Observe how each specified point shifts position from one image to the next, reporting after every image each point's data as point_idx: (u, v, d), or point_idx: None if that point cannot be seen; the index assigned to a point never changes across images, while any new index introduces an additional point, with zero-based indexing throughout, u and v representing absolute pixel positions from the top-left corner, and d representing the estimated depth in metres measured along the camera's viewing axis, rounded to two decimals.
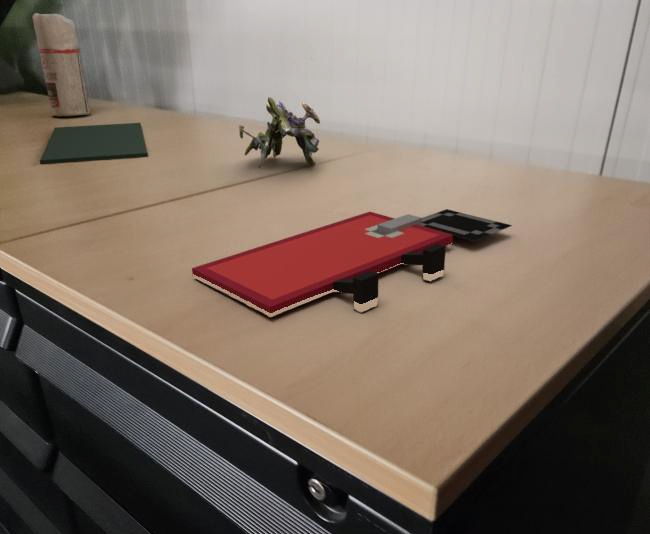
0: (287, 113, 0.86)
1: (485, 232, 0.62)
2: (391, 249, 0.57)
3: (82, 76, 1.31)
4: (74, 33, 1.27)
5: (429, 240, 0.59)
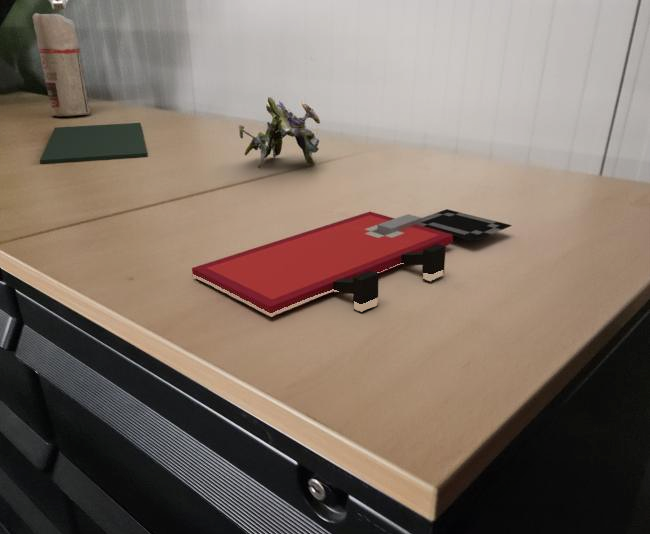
0: (287, 113, 0.86)
1: (485, 232, 0.62)
2: (391, 249, 0.57)
3: (82, 76, 1.31)
4: (74, 33, 1.27)
5: (429, 240, 0.59)
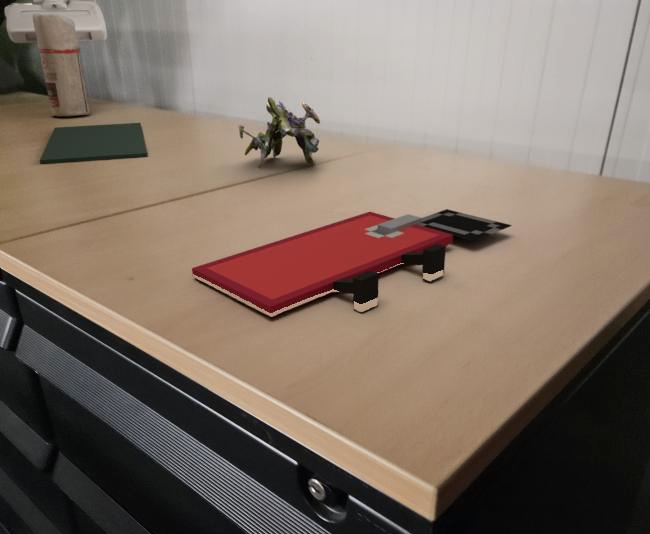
0: (287, 113, 0.86)
1: (485, 232, 0.62)
2: (391, 249, 0.57)
3: (82, 76, 1.31)
4: (74, 33, 1.27)
5: (429, 240, 0.59)
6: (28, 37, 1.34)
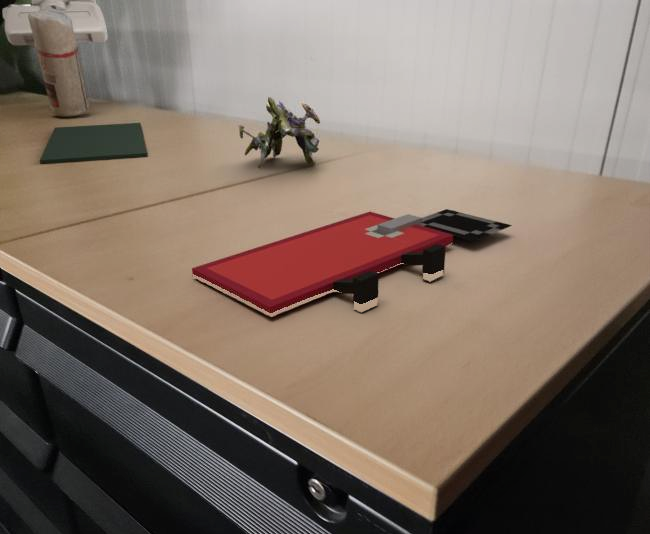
0: (287, 113, 0.86)
1: (485, 232, 0.62)
2: (391, 249, 0.57)
3: (81, 75, 1.28)
4: (72, 34, 1.22)
5: (429, 240, 0.59)
6: (27, 39, 1.30)
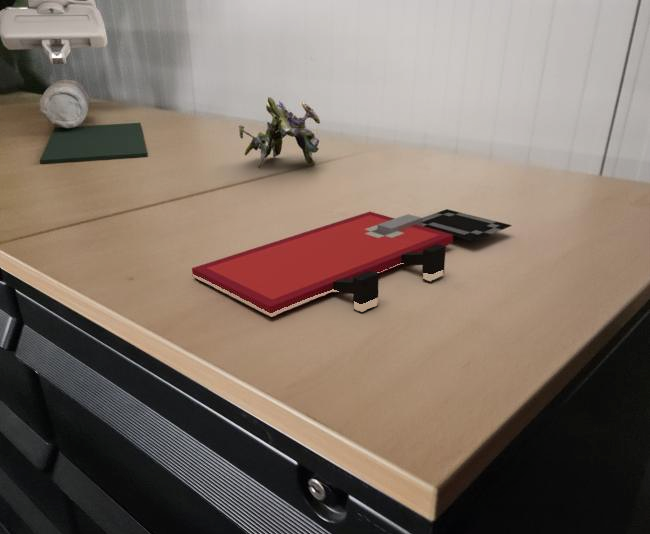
0: (287, 113, 0.86)
1: (485, 232, 0.62)
2: (391, 249, 0.57)
3: None
4: (85, 117, 1.17)
5: (429, 240, 0.59)
6: (23, 43, 1.25)
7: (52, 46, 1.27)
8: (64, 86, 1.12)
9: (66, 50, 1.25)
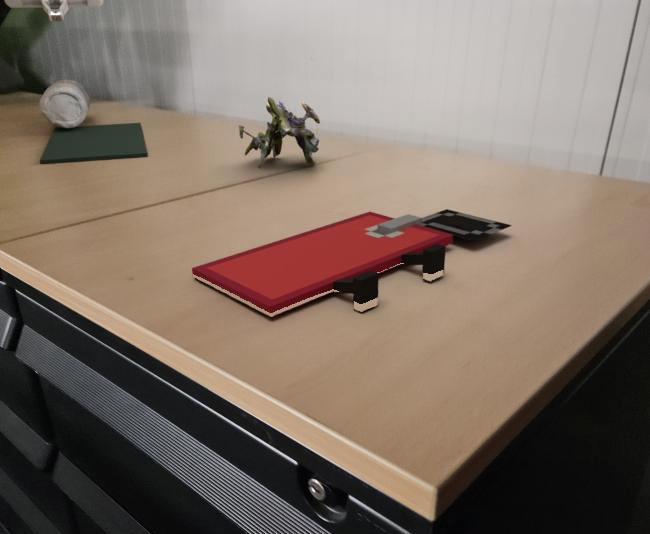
0: (287, 113, 0.86)
1: (485, 232, 0.62)
2: (391, 249, 0.57)
3: None
4: (85, 117, 1.17)
5: (429, 240, 0.59)
6: (24, 2, 1.33)
7: (51, 5, 1.35)
8: (64, 86, 1.12)
9: (64, 8, 1.33)
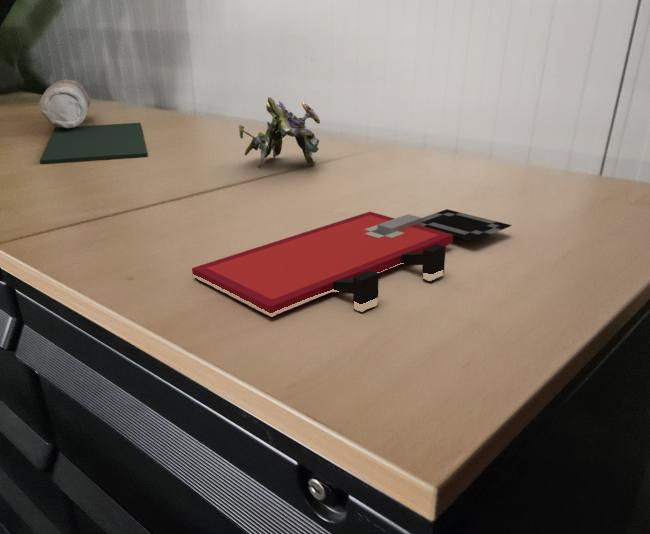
0: (287, 113, 0.86)
1: (485, 232, 0.62)
2: (391, 249, 0.57)
3: None
4: (85, 117, 1.17)
5: (429, 240, 0.59)
6: None
7: None
8: (64, 86, 1.12)
9: None
